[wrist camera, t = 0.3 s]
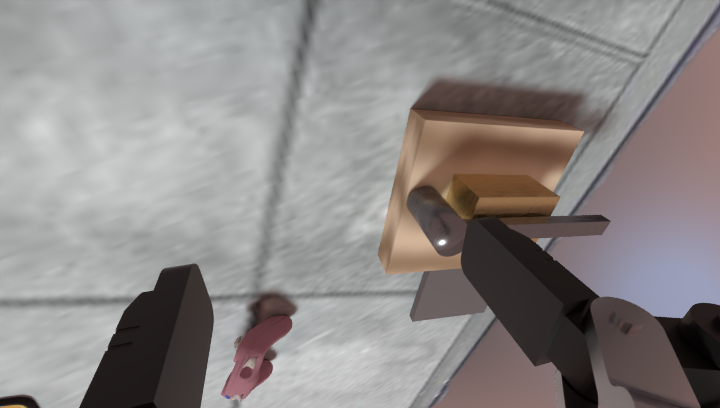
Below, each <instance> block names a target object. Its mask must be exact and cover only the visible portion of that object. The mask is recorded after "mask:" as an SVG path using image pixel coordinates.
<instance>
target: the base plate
mask: <svg viewBox="0 0 720 408" xmlns="http://www.w3.org/2000/svg"><path fill="white" fill-rule="evenodd" d="M583 133H584V131H583V130H580V129H578V128H575V127H573V126H571V125H568V124H566V123H564V122H561V121H557V120H545V119H532V118H520V117H508V116H495V115H483V114H470V113H458V112H446V111H433V110H421V109H410V114H409V118H408V123H407V127H406V132H405V136H404V140H403V145H402V149H401V154H400V158H399V163H398V167H397V172H396V176H395V180H394V185H393V189H392V194H391V198H390V203H389V207H388V212H387V216H386V221H385V225H384V229H383V234H382V238H381V243H380V247H379V252H378V257H379V259H380V261H381V263H382V266H383V268H384V270H385V272H386V274H398V273H410V272H422V271H435V270H447V269H459V268H462V267H461V253H462V252H461V253H459V254H457V255H454V256H450V257H444V256H441V255H439V254H438V253H437V252H436V250H435V249H434V247H433V246H432V244H431V243H430V241H429V240H428V238H427V237H426V235H425V234H424V233H423V231H422V230H421V228H420V227H419V225H418V224H417V222H416V221H415V219H414V218H413V216H412V215H411V213H410V212H409V210H408V209H407V205H406V203H407V199H408V197H409V195H410V194H411V193H412V192H413V191H414V190H415V189H417V188H418V187H421V186H432V187H434V188H435V189H436V190H437V191H438V192H439V193H440V194H441V196H442V197H443V198H444V199H445V200H446V197H447V194H448V191H449V188H450V185H451V182H452V179H453V176H454V174H489V175H529V176H530V177H532V178H533V179H535V180H536V181H538V182H539V183H541V184H542V185H544V186H545V187H546V188H548V189H549V190H551V191H552V192H553V191H554V189H555V187H556V185H557V183H558V181H559V179H560V177H561V175H562V173H563V172H564V170H565V168H566V166H567V164H568V162H569V160H570V158H571V156H572V154H573V152H574V151H575V149H576V147H577V145H578V143H579V141H580V139H581V137H582V135H583Z"/></svg>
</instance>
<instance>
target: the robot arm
mask: <svg viewBox="0 0 720 408" xmlns="http://www.w3.org/2000/svg"><path fill="white" fill-rule="evenodd" d="M461 267H462V270H463V273H464V275H465V276H466V278H467V279H468V280H469V282H470V283H471V284H472V285H473V287H474V288H475V289H476V291H477V292H478V293H479V295H480V296H481V297H482V298H483V300H484V301H485V302H486V304H487V305H488V306H489V307H490V309H491V310H492V311H493V313H494V314H495V315H496V317H497V318H498V319H499V320H500V322H501V323H502V324H503V326H504V327H505V328H506V330H507V331H508V332H509V333H510V335H511V336H512V337H513V339H514V340H515V341H516V343H517V344H518V345H519V346H520V347H521V349H522V350H523V351H524V353H525V354H526V355H527V357H528V358H529V359H530V361H531V362H532V363H533V364H534V366H538V365H542V364H545V363H549V362H552V363H553V364H554V365H555V366H556V368H557V369H556V371H555V375H554V380H555V389H556V399H557V408H720V305H716V304H710V303H698V304H695V305H693V306H692V307H691V308H690V310H689V311H688V312H687V313H686V315H685V316H684V317H683V318H669V317H668V318H667V317H654V316H652V315H651V314H650V313H648V312H647V311H645V310H644V309H642V308H641V307H639V306H637V305H635V304H633V303H631V302H628V301H626V300H623V299H619V298H614V297H599V296H598V295H596V294H595V293H594V292H593V291H592V290H591V289H590V288H588V287H587V286H586V285H585V284H584V283H582V282H581V281H580V280H579V279H578V278H576V277H575V276H574V275H573V274H572V273H570V272H569V271H568V270H567V269H565V267H563V266H562V265H561V264H560V263H559V262H558V261H554V260H553V257H552V256H550V255H549V254H548V253H547V252H546V251H543V250H542V248H541V247H540V246H539V245H537V244H536V243H535V242H534V241H533V240H531V239H530V238H529V237H527V236H525V235H523V234H521V233H519V232H517V231H515V230H513V229H510V228H509V227H508V226H507V225H505V224H504V223H503V222H502V221H501V220H500V219H498V218H497V217H494V216H492V217H485V218H479V219H473V220H470V221H469V223H468V225H467V229H466V234H465V238H464V243H463V248H462V253H461ZM213 323H214V316H213V308H212V303H211V300H210V298H209V295H208V292H207V289H206V286H205V283H204V280H203V278H202V275H201V272H200V269H199V267H198V265H197V264H189V265H183V266H176V267H170V268H165V269H163V270H162V271H161V273H160V276H159V278H158V281H157V283H156V286H155V288H154V291H148V292H142V293H141V294H140V295H139V296H138V297H137V298H136V299H135V300H134V301H133V302H132V303H131V304H130V305H129V306H128V307H127V309H126V310H125V311H124V313H123V315H122V317H121V319H120V321H119V324H118V326H117V328H116V334H113V336H112V339H111V341H110V343H109V345H108V351H105V354H104V356H103V358H102V360H101V362H100V364H99V366H98V368H97V371H96V373H95V375H94V377H93V379H92V381H91V383H90V386H89V388H88V390H87V392H86V394H85V396H84V398H83V401H82V403H81V405H80V407H79V408H200V406H201V400H202V394H203V388H204V381H205V375H206V369H207V363H208V356H209V350H210V344H211V338H212V331H213Z"/></svg>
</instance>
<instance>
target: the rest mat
mask: <svg viewBox="0 0 720 408" xmlns="http://www.w3.org/2000/svg"><path fill="white" fill-rule="evenodd" d="M486 307H487V304H486V302H485V301H484V300H483V298H482V297H481V296H480V295H479V293H478V292H477V291H476V289H475V288H474V287H473V285H472V284H471V283H470V282H469V280H468V279H467V278H466V276H465V275H464V273H463V270H462V268H459V269H447V270H435V271H424V274H423V277H422V280H421V283H420V286H419V289H418V292H417V295H416V298H415V301H414V304H413V307H412V310H411V313H410V317H411V319H412V322H413V321H421V320H428V319H436V318H444V317H451V316H459V315H467V314H474V313H482V312H484V311H485V309H486Z"/></svg>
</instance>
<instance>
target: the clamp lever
mask: <svg viewBox="0 0 720 408" xmlns="http://www.w3.org/2000/svg"><path fill="white" fill-rule="evenodd" d="M406 205H407V209H408V210H409V212H410V213H411V215H412V216H413V218H414V219H415V221H416V222H417V224H418V225H419V227H420V228H421V230H422V231H423V233H424V234H425V235H426V237H427V238H428V240H429V241H430V243H431V244H432V246H433V247H434V249H435V250H436V252H437V253H438V254H439V255H441V256H444V257H450V256H454V255H457V254H459V253H461V252H462V248H463V243H464V238H465V234H466V229H467V225H468V223H469V221H470V220H473V219H462V218H461V217H460V216H459V215H458V214H457V212H456V211H455V210H454V209H453V208H452V207H451V206H450V205H449V203H448V202H447V201H446V200H445V199H444V198H443V197H442V196H441V194H440V193H439V192H438V191H437V190H436V189H435V188H434V187H432V186H421V187H418V188H417V189H415V190H414V191H413V192H412V193H411V194H410V195H409V197H408V199H407V203H406ZM498 219H500V220H501V221H502V222H503V223H504V224H505V225H507V226H508V227H509V228H510V229H513V230H515V231H517V232H519V233H521V234H523V235H525V236H527V237H529V238H530V239H532V238H551V237H567V236H568V237H569V236H588V235H602V234H603V232H604V231H605V229H606V228H607V226H608V225H609V223H610V222H611V221H609V220H608V219H607V218H605V217H603V216H602V215H581V216H547V217H514V218H498Z"/></svg>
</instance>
